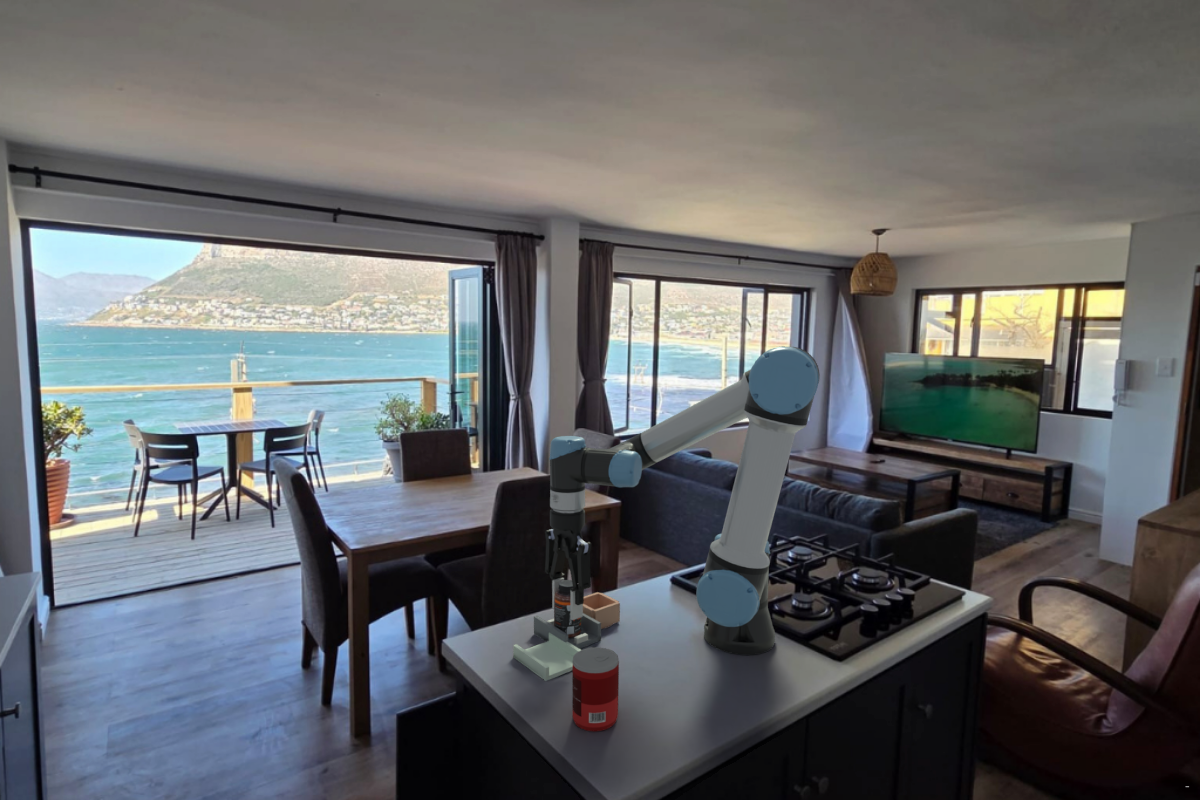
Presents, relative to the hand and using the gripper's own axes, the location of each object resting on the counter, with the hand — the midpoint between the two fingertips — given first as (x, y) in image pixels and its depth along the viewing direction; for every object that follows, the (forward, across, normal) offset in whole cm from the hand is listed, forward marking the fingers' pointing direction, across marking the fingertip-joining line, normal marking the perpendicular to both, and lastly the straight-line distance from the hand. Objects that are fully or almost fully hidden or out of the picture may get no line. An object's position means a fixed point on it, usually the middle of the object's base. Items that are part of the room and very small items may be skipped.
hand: (567, 612), depth 137 cm
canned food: (+6, +27, -14) cm, 31 cm away
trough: (+6, +6, -9) cm, 12 cm away
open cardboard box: (+6, -2, +10) cm, 12 cm away
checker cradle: (+6, 0, 0) cm, 6 cm away
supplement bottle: (+5, 0, 0) cm, 5 cm away
